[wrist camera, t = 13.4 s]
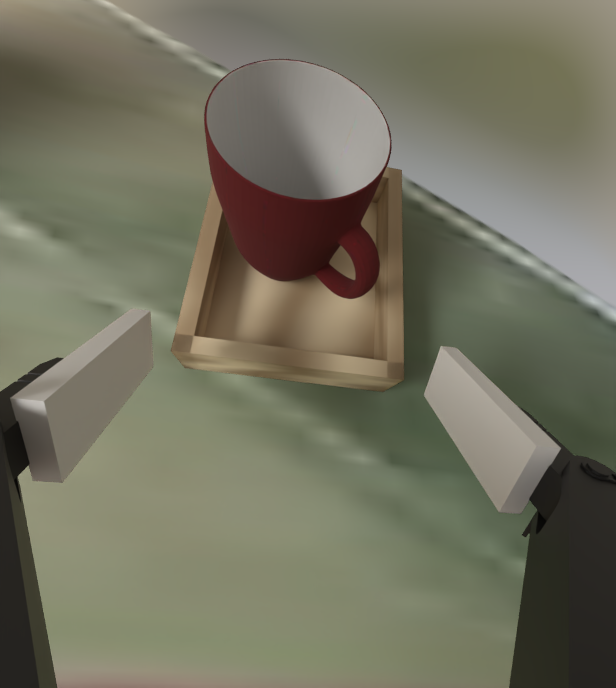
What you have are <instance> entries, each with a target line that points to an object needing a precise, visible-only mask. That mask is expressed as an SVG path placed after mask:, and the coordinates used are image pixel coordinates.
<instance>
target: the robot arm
mask: <svg viewBox="0 0 616 688" xmlns="http://www.w3.org/2000/svg"><path fill="white" fill-rule="evenodd" d="M152 368H153V351H152V333H151V314H150V311H148V310H140V309H130V310H129V311H128V312H126V313H125V314H123V315H122V316H121V317H119V318H118V319H117V320H115V321H114V322H113V323H111V324H110V325H109V326H107V327H106V328H104V329H103V330H102V331H100V332H99V333H98V334H96V335H95V336H94V337H92V338H91V339H90V340H88V341H87V342H85V343H84V344H83V345H81V346H80V347H79V348H77V349H76V350H75V351H73V352H72V353H71V354H69V355H68V356H67V357H65V358H55V359H52V360H50V361H47V362H45V363H42V364H40V365H38V366H37V367H35V368H34V369H33V370H31V371H30V372H28V374H27V375H26V374H25V375H24V376H22V377H21V378H20V379H18V381H17V382H14V383H12V384H11V385H9V386H8V387H7V388H5V389H4V390H2V391H1V392H0V688H57V684H56V678H55V673H54V667H53V662H52V657H51V651H50V646H49V640H48V635H47V629H46V624H45V619H44V613H43V608H42V602H41V597H40V592H39V586H38V581H37V575H36V570H35V564H34V559H33V554H32V548H31V543H30V537H29V532H28V527H27V521H26V516H25V510H24V505H23V499H22V494H21V489H20V484H19V481H18V477H17V476H18V475H19V474H20V473H21V472H22V471H23V470H24V469H25V468H26V467H27V466H28V465H29V468H30V472H31V476H32V479H33V481H44V482H59V483H63V481H64V480H65V479H66V477H67V476H68V475H69V474H70V472H71V471H72V470H73V469H74V467H75V466H76V465H77V463H78V462H79V461H80V460H81V458H82V457H83V456H84V455H85V453H86V452H87V451H88V449H89V448H90V447H91V446H92V444H93V443H94V442H95V441H96V439H97V438H98V437H99V435H100V434H101V433H102V432H103V430H104V429H105V428H106V427H107V425H108V424H109V423H110V421H111V420H112V419H113V418H114V416H115V415H116V414H117V413H118V411H119V410H120V409H121V407H122V406H123V405H124V404H125V402H126V401H127V400H128V399H129V397H130V396H131V395H132V393H133V392H134V391H135V390H136V388H137V387H138V386H139V385H140V383H141V382H142V381H143V379H144V378H145V377H146V376H147V374H148V373H149V372H150V371H151V369H152ZM424 396H425V398H426V399H427V401H428V402H429V404H430V406H431V407H432V409H433V410H434V412H435V413H436V415H437V416H438V418H439V420H440V421H441V423H442V424H443V426H444V427H445V429H446V430H447V432H448V434H449V435H450V437H451V438H452V440H453V441H454V443H455V445H456V446H457V448H458V449H459V451H460V452H461V454H462V455H463V457H464V459H465V460H466V462H467V463H468V465H469V466H470V468H471V469H472V471H473V473H474V474H475V476H476V477H477V479H478V480H479V482H480V483H481V485H482V487H483V488H484V490H485V491H486V493H487V494H488V496H489V497H490V499H491V501H492V502H493V504H494V505H495V507H496V508H497V510H498V511H499V512H502V513H516V514H521V513H522V512H523V510H524V508H525V507H526V505H527V503H528V502H529V500H530V501H531V502H532V504H533V505H534V506H535V507H536V509H537V512H536V513H535V515H534V516H533V518H532V520H531V521H530V523H529V524H528V526H527V527H526V529H525V531H524V532H523V534H522V535H523V536H524V537H526V536H527V535H528V534H529V533H530V538H529V546H528V553H527V560H526V568H525V575H524V582H523V590H522V597H521V605H520V612H519V619H518V627H517V634H516V641H515V649H514V656H513V664H512V671H511V678H510V686H509V688H616V473H615V472H613V471H612V470H611V469H609V468H608V467H606V466H605V465H603V464H601V463H599V462H597V461H595V460H592V459H589V458H587V457H582V456H574V455H573V454H572V453H570V452H569V451H568V450H567V449H566V448H565V447H564V446H563V445H562V444H561V443H560V442H559V441H558V440H557V439H556V438H555V437H554V436H552V435H551V434H550V433H549V432H547V431H546V429H545V428H544V427H543V426H542V425H541V424H538V421H537V420H535V419H534V418H533V417H532V416H531V415H530V414H529V413H528V412H526V411H525V410H523V409H522V408H520V407H518V406H517V405H515V404H514V403H513V402H512V401H511V400H510V399H509V398H508V397H507V396H506V395H505V394H504V393H503V392H502V391H501V390H500V389H499V388H498V387H497V386H496V385H495V384H494V383H493V382H492V381H490V380H489V379H488V378H487V377H486V376H485V375H484V374H483V373H482V372H481V371H480V370H479V369H478V368H477V367H476V366H475V365H474V364H473V363H472V362H471V361H470V360H469V359H468V358H467V357H465V356H464V355H463V354H462V353H461V352H460V351H459V350H458V349H457V348H454V347H446V346H441V347H440V350H439V353H438V356H437V359H436V362H435V364H434V367H433V370H432V373H431V376H430V379H429V382H428V384H427V387H426V390H425V393H424Z"/></svg>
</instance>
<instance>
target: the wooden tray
mask: <svg viewBox="0 0 616 688" xmlns="http://www.w3.org/2000/svg"><path fill="white" fill-rule="evenodd" d="M361 225H362V227H363V228H364V229H365V230H366V231H367V232H368V233H369V235H370V236H371V238H372V239H373V241H374V243H375V245H376V248H377V251H378V255H379V260H380V271H379V276H378V279H377V281H376V283H375V285H374V286H373V287H372V289H371V290H370V291H369V292H367V293H366V294H365V295H363V296H361V297H358V298H355V299H346V298H342V297H340V296H338V295H336V294H334V293H333V292H332V291H330V290H329V289H328V288H327V287H326V286H325V285H324V284H323V283H322V282H321V281H320V280H319V279H318V278H317V277H316V276H315V275H311V276H308V277H305V278H301V279H297V280H292V281H276V280H273V279H270V278H268V277H266V276H265V275H263V274H261V273H260V272H258V271H257V270H256V269H254V268H253V267H252V266H251V265H250V264H249V263H248V262H247V261H246V260H245V259H244V257H243V256H242V255H241V253H240V252H239V250H238V248H237V246H236V244H235V241H234V239H233V236H232V234H231V231H230V228H229V226H228V223H227V221H226V218H225V215H224V213H223V210H222V207H221V205H220V202H219V199H218V197H217V194H216V191H215V187H214V184H213V183H212V187H211V191H210V195H209V199H208V203H207V207H206V211H205V215H204V219H203V223H202V227H201V231H200V235H199V239H198V243H197V247H196V251H195V255H194V259H193V263H192V267H191V271H190V275H189V280H188V284H187V288H186V292H185V296H184V300H183V304H182V308H181V312H180V316H179V320H178V324H177V328H176V332H175V336H174V340H173V344H172V348H171V352H172V353H173V354H174V355H175V357H176V358H177V359H178V360H179V361H180V363H181V364H182V365H183V366H184V368H189V369H197V370H206V371H214V372H222V373H231V374H239V375H247V376H255V377H264V378H272V379H280V380H288V381H297V382H305V383H313V384H322V385H330V386H338V387H346V388H355V389H363V390H371V391H380V392H383V391H385V390H387V389H389V388H391V387H392V386H394V385H396V384H398V383H400V382H401V381H403V380H404V328H403V244H402V170H398V169H394V168H388V167H386V169H385V172H384V174H383V176H382V179H381V181H380V183H379V186H378V188H377V190H376V192H375V195H374V197H373V199H372V201H371V203H370V205H369V207H368V209H367V211H366V213H365V215H364V217H363V219H362V222H361ZM329 264H330V265H331V266H332V267H334V268H335V269H336V270H337V271H339V272H340V273H341V274H343V275H344V276H346V277H348V278H350V279H352V280H355V268H354V264H353V262H352V260H351V258H350V256H349V254H348V253H347V252H346V250H345V249H344V248H343V247H342V246H340V247H339V248H338V250H337V251H336V252H335V254H334V255H333V257H332V258H331V260H330V262H329Z"/></svg>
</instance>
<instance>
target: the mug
mask: <svg viewBox="0 0 616 688" xmlns="http://www.w3.org/2000/svg"><path fill="white" fill-rule="evenodd" d="M204 122H205V133H206V142H207V151H208V158H209V165H210V171H211V176H212V180H213V184H214V187H215V191H216V194H217V197H218V199H219V202H220V205H221V207H222V210H223V213H224V215H225V218H226V221H227V223H228V226H229V228H230V231H231V234H232V236H233V239H234V241H235V244H236V246H237V248H238V250H239V252H240V253H241V255H242V256H243V257H244V259H245V260H246V261H247V262H248V263H249V264H250V265H251V266H252V267H253V268H254V269H256V270H257V271H258V272H260V273H261V274H263V275H265V276H266V277H268V278H270V279H273V280H276V281H292V280H297V279H301V278H305V277H308V276H311V275H315V276H316V277H317V278H318V279H319V280H320V281H321V282H322V283H323V284H324V285H325V286H326V287H327V288H328V289H329V290H330V291H332V292H333V293H334V294H336V295H338V296H340V297H342V298H346V299H355V298H358V297H361V296H363V295H365V294H366V293H367V292H369V291H370V290H371V289H372V287H373V286H374V285H375V283H376V281H377V279H378V276H379V271H380V260H379V255H378V251H377V248H376V245H375V243H374V241H373V239H372V238H371V236H370V235H369V233H368V232H367V231H366V230H365V229H364V228H363V227H362V225H361V222H362V219H363V217H364V215H365V213H366V211H367V209H368V207H369V205H370V203H371V201H372V199H373V197H374V195H375V192H376V190H377V188H378V186H379V183H380V181H381V179H382V176H383V174H384V172H385V169H386V167H387V165H388V162H389V158H390V154H391V134H390V130H389V127H388V124H387V121H386V119H385V117H384V115H383V113H382V112H381V110H380V108H379V107H378V106H377V104H376V103H375V102H374V100H373V99H372V98H371V97H370V96H369V95H368V94H367V93H366V92H365V91H364V90H363V89H362V88H360V87H359V86H358V85H357V84H355V83H354V82H352V81H351V80H349V79H347V78H346V77H344V76H343V75H341V74H339V73H337V72H335V71H333V70H330V69H328V68H325V67H322V66H319V65H316V64H313V63H309V62H304V61H298V60H289V59H272V60H263V61H258V62H254V63H250V64H247V65H244V66H242V67H240V68H237V69H235V70H234V71H232V72H230V73H229V74H227V75H226V76H225V77H224V78H222V79H221V80H220V81H219V82H218V83H217V85H216V86H215V87H214V88H213V90H212V92H211V93H210V95H209V97H208V100H207V103H206V107H205V114H204ZM340 246H342V247H343V248H344V249H345V250H346V252H347V253H348V254H349V256H350V258H351V260H352V262H353V264H354V268H355V280H352V279H350V278H348V277H346V276H344V275H343V274H341V273H340V272H339V271H337V270H336V269H335V268H334V267H332V266H331V265H330V264H329V262H330V260H331V258H332V257H333V255H334V254H335V252H336V251H337V250H338V248H339V247H340Z"/></svg>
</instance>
